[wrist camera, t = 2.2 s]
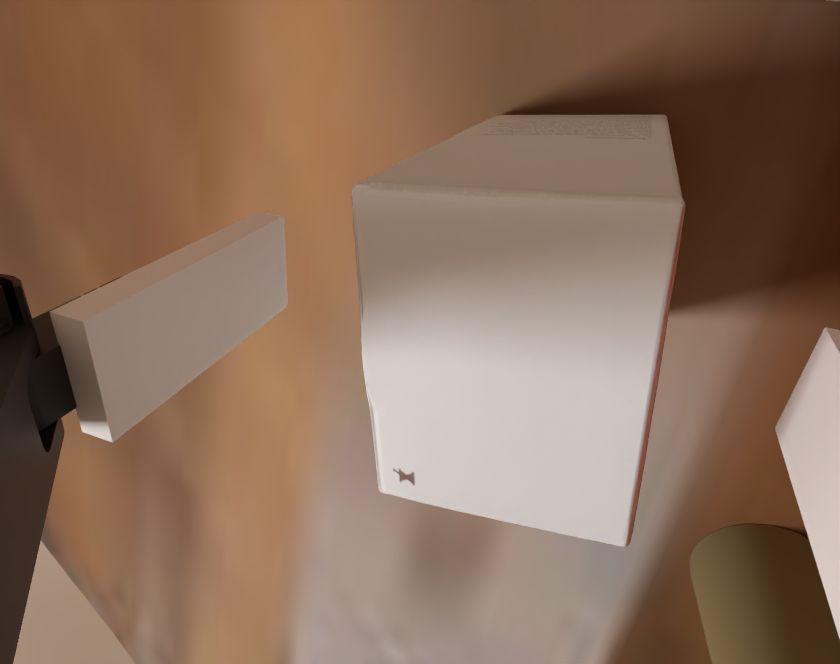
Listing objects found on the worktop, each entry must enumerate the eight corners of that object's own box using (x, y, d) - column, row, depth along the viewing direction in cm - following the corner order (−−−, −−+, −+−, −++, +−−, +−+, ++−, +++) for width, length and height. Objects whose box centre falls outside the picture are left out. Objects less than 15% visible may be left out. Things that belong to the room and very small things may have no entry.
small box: (642, 318, 24) (630, 559, 13) (491, 302, 26) (371, 498, 15) (673, 108, 20) (692, 195, 9) (494, 110, 22) (338, 183, 11)
